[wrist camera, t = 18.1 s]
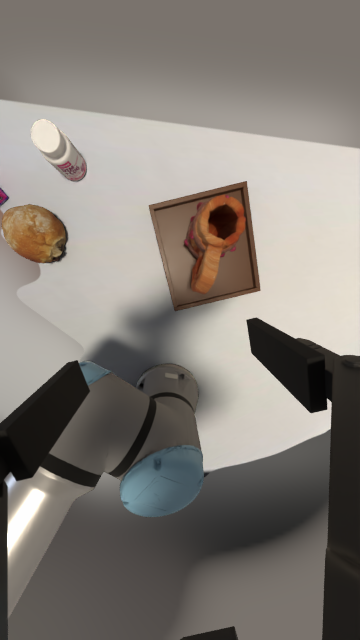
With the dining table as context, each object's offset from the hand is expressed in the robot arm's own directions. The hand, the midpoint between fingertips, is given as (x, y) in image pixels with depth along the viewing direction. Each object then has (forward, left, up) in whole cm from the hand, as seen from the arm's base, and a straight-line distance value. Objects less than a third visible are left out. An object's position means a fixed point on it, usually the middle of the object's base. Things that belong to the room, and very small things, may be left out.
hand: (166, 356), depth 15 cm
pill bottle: (+28, +11, -29) cm, 42 cm away
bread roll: (+18, +21, -29) cm, 40 cm away
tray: (+8, -10, -29) cm, 31 cm away
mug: (+8, -9, -28) cm, 31 cm away
